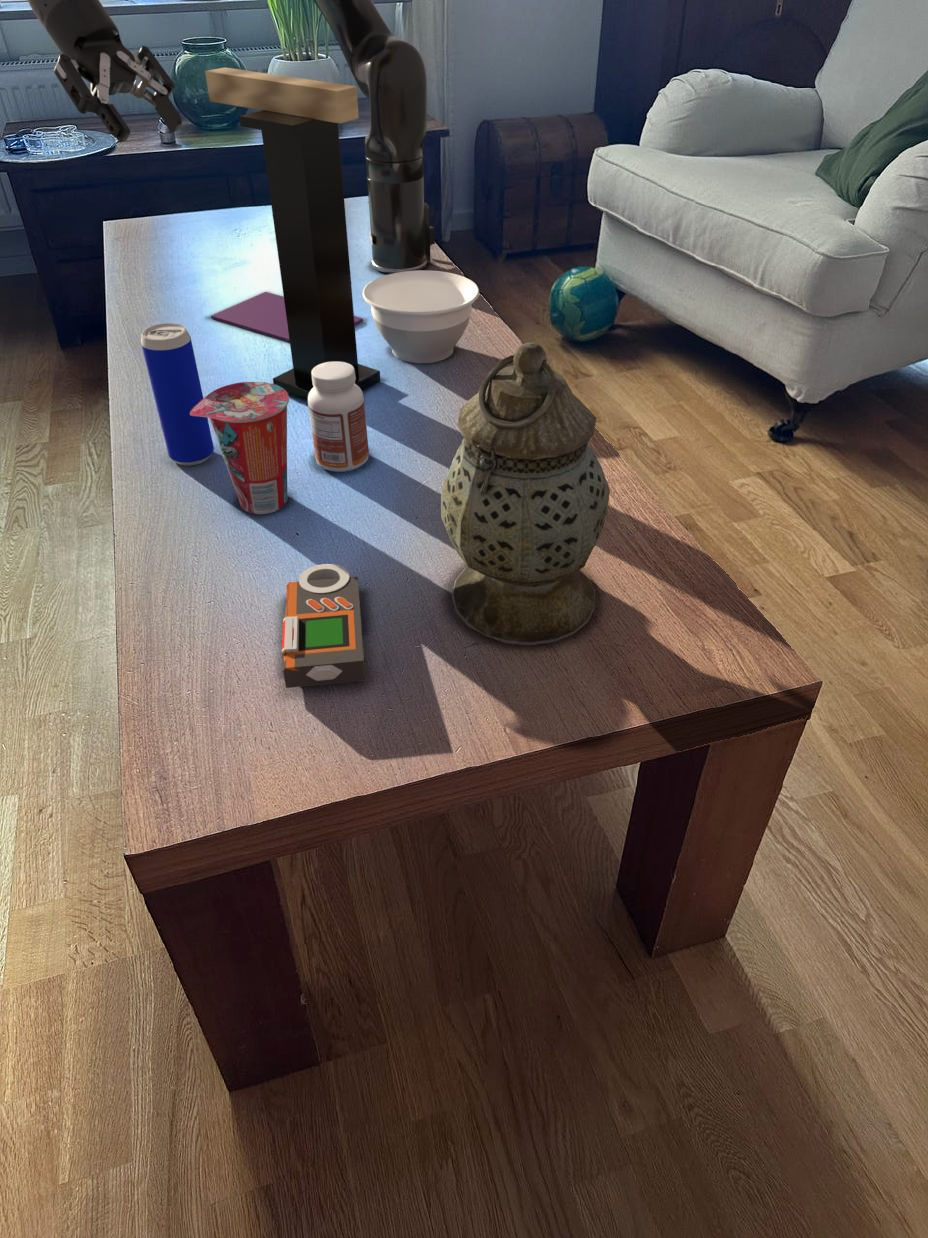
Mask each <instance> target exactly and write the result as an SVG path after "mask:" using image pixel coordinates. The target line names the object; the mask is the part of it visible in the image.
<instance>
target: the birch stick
mask: <svg viewBox="0 0 928 1238" xmlns="http://www.w3.org/2000/svg"><path fill="white" fill-rule="evenodd" d="M204 73H205V79H206V80H205V81H206V85H207V91H208V98H209V101H210V102H212V103H217V104H222V105H223V104H224V105H229V106H235V107H242V108H245V109H252V110H257V111H258V110H259V111H263V110H264V111H270V112H276V113H281V114H287V115H293V116H299V117H305V118H311V119H316V120H322V121H328V122H334V123H341V124H344V123H348V122H352V121H355V120H358V119H359V118H360V113H359V100H358V99H359V98H358V87H357V86H355V85H349V84H343V83H336V82H328V81H322V80H314V79H308V78H301V77H293V76H289V75H281V74H275V73H274V74H273V73H267V72H261V71H260V72H259V71H254V70H253V71H252V70H246V69H239V68H232V67H220V68H215V69H208V70H205V71H204Z"/></svg>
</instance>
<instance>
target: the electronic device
mask: <svg viewBox="0 0 928 1238" xmlns="http://www.w3.org/2000/svg"><path fill="white" fill-rule="evenodd" d="M359 583H360V582H359V576H350V573H349V571H348V569H346V568H344V567H343V566H341V565H338V564H333V563H322V564H316V565H313V566H310V567H309V568H307V569H305V570H304V571H302V573H301V574H300V575H299V577H298V580H297V581H288V583H287V584H286V592H285V593H286V595H285V615H284V618H283V620H282V635H281V636H282V637H281V638H282V639H281V656H282V657H281V658H282V661H283V665H282V671H283V672H282V673H283V678H284V684H285V688H286V689H290V688H300V687H311V686H321V685H332V684H342V683H352V682H362V681H363V682H365V681H366V679H367V678H366V667H365V653H364V651H365V649H364V638H363V623H362V609H361V608H362V607H361V595H360V586H359Z"/></svg>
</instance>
